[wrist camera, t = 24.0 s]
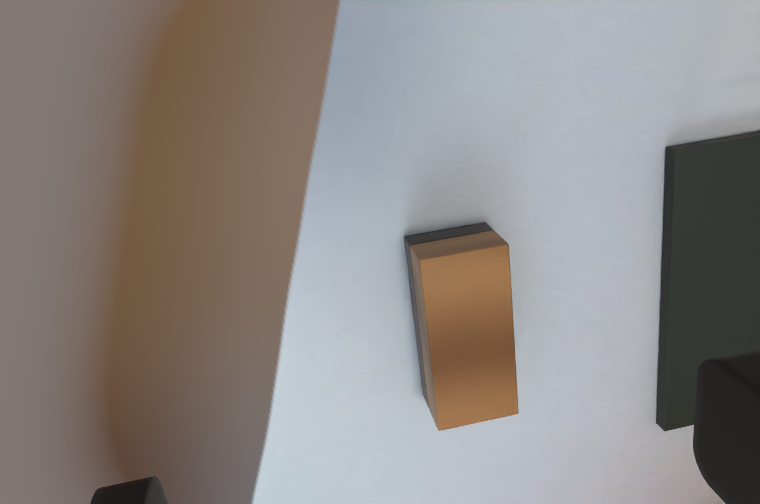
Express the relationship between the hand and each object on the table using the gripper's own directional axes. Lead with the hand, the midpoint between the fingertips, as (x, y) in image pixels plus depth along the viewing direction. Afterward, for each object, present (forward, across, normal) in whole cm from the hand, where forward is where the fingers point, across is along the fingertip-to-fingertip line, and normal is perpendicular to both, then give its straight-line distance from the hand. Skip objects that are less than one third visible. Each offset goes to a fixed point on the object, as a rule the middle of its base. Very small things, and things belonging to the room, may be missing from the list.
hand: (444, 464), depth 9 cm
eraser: (+28, -7, +12) cm, 31 cm away
